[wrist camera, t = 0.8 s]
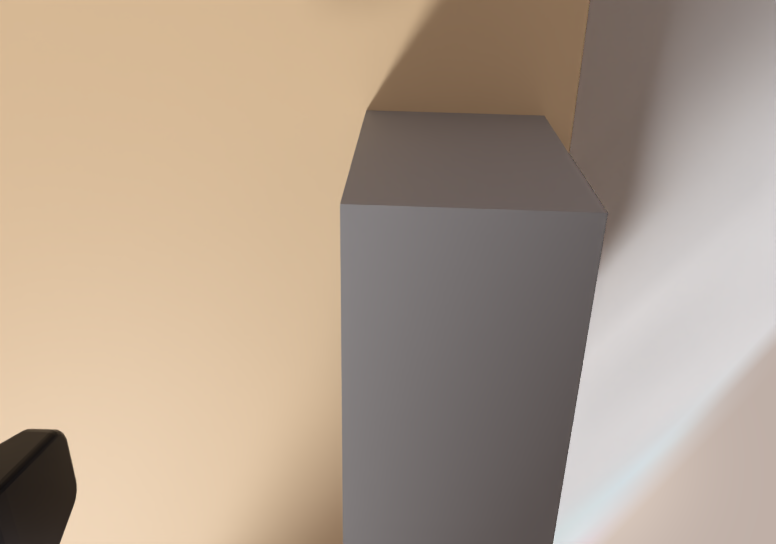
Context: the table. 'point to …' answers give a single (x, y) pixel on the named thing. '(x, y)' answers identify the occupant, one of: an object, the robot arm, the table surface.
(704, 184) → the table surface
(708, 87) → the table surface
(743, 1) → the table surface
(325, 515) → the mailer lid
